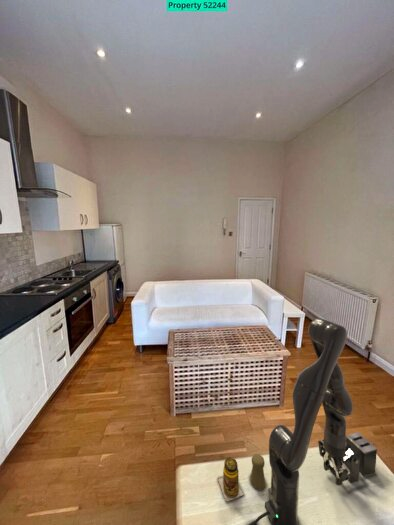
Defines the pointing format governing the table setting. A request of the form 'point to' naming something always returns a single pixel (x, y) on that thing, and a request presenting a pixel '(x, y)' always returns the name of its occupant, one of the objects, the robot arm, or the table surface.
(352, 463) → the switch bracket
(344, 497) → the table surface
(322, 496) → the table surface
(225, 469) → the condiment
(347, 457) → the switch lever
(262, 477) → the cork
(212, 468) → the table surface
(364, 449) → the toaster body
